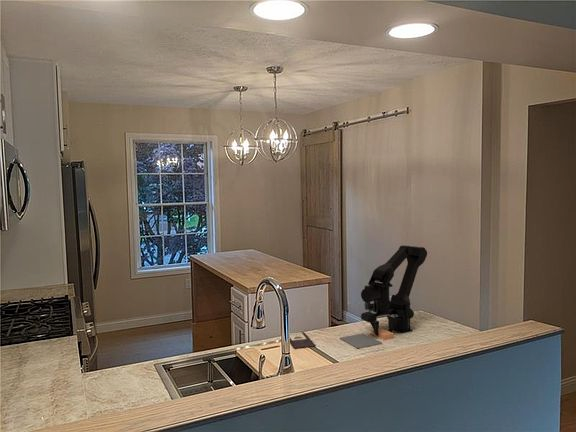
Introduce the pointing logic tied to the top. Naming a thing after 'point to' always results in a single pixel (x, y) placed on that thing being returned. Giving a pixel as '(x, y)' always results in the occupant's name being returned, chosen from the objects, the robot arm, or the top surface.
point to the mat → (360, 340)
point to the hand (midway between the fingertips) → (383, 334)
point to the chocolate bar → (300, 341)
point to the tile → (384, 334)
